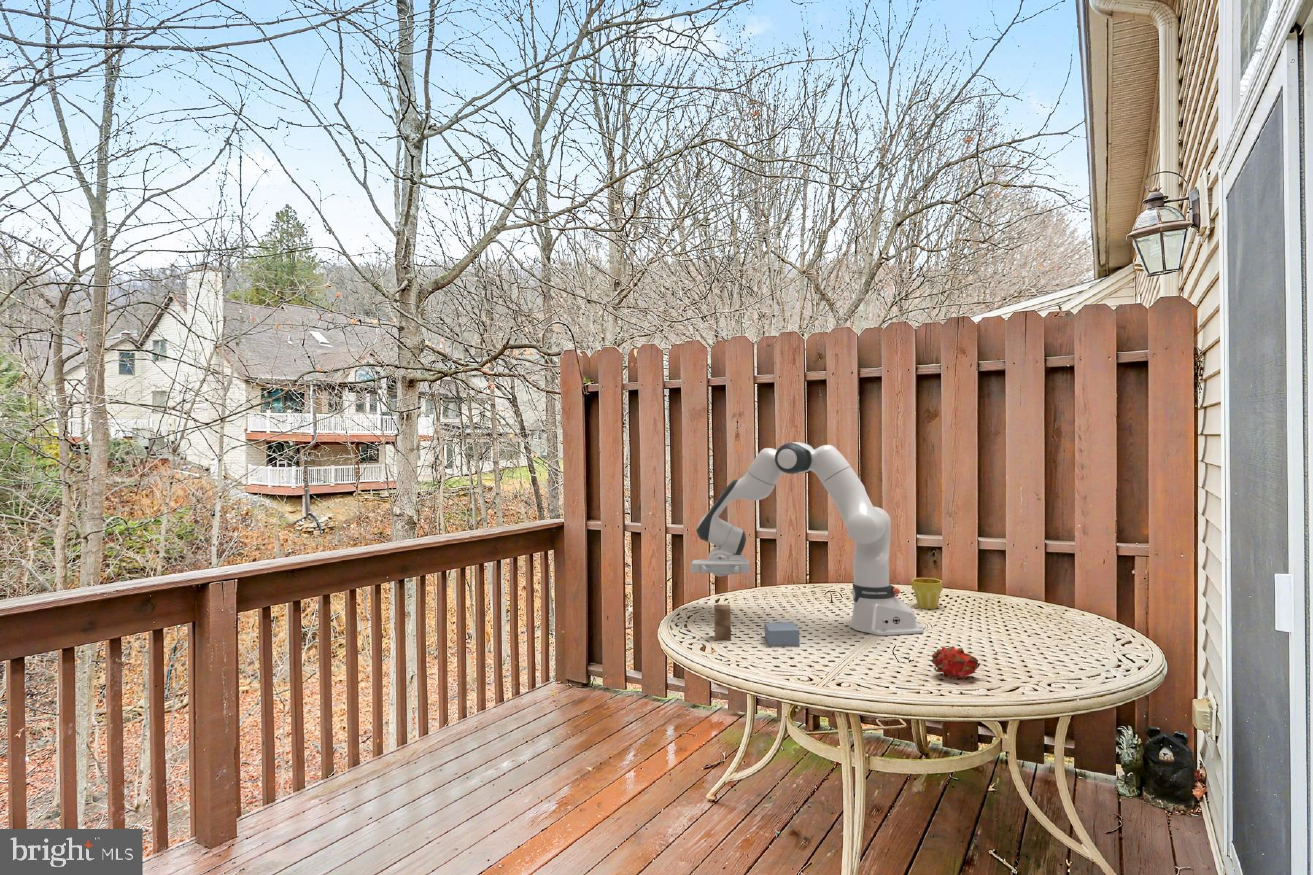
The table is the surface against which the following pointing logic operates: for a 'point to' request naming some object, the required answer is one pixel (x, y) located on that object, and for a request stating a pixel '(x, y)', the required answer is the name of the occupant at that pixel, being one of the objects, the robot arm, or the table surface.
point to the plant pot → (927, 592)
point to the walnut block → (722, 622)
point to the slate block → (782, 634)
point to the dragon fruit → (954, 662)
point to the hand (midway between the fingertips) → (720, 570)
